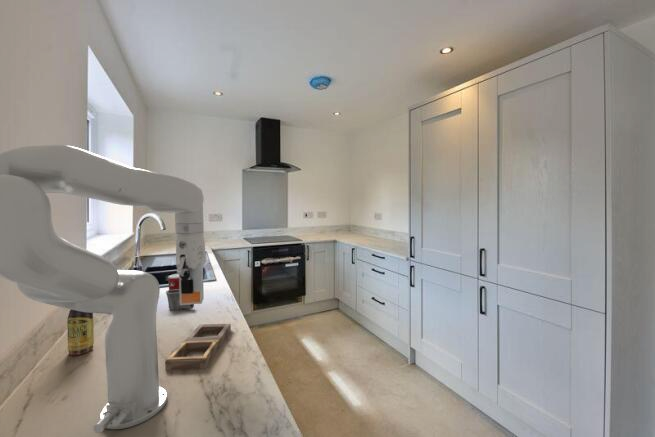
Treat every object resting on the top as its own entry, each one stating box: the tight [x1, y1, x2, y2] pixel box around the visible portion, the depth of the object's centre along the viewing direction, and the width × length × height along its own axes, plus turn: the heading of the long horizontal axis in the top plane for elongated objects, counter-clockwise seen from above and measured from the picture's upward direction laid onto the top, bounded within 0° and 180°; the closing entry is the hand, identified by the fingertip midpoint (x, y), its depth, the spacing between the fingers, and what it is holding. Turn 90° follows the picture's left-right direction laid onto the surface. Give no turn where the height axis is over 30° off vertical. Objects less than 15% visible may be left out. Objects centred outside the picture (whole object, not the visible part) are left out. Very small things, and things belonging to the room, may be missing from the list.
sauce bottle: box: [66, 309, 95, 356], centre depth 90 cm, size 6×6×20 cm
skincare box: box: [179, 262, 204, 305], centre depth 85 cm, size 6×4×12 cm
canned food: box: [167, 273, 179, 290], centre depth 142 cm, size 8×8×11 cm
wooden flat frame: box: [164, 323, 232, 371], centre depth 92 cm, size 24×11×3 cm, turn 2°
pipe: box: [165, 289, 195, 311], centre depth 126 cm, size 6×13×8 cm, turn 77°
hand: (191, 289), depth 85 cm, fingers closed on skincare box, 5 cm apart
